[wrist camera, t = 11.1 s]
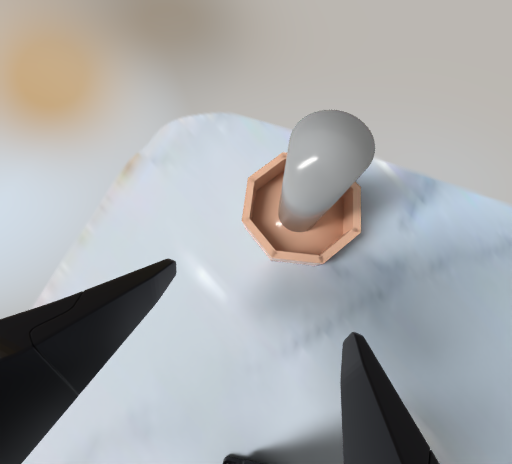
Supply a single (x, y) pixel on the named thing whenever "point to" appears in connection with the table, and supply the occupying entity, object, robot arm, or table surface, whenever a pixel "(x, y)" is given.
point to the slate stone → (322, 165)
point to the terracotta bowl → (297, 243)
